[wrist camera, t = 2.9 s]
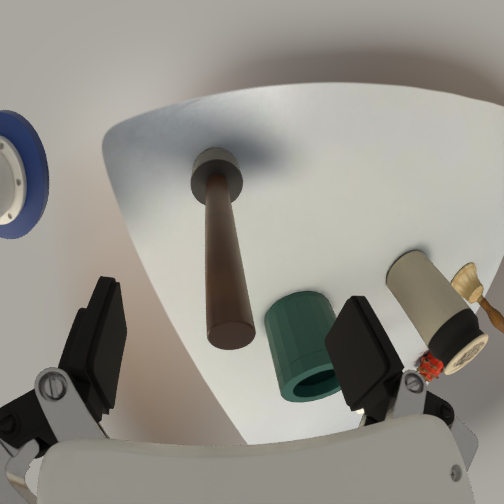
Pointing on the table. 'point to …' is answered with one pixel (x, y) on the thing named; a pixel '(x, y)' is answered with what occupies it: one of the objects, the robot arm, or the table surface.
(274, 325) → the jar
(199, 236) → the table surface
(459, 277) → the hand bell
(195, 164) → the peg on round base
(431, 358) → the dragon fruit
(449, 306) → the travel mug
